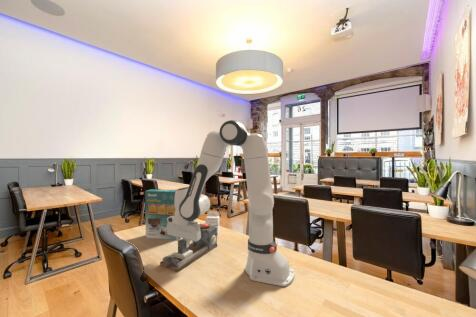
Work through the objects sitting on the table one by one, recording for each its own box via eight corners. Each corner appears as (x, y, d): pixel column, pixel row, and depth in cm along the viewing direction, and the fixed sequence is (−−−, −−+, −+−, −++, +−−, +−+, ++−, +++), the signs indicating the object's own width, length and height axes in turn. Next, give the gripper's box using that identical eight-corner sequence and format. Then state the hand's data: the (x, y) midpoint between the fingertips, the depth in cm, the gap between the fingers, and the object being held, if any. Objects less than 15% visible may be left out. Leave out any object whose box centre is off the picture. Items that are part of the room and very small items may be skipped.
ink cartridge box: (205, 234, 144) (205, 212, 144) (207, 232, 149) (207, 210, 149) (218, 235, 143) (218, 213, 143) (219, 232, 148) (219, 211, 148)
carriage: (192, 255, 112) (192, 239, 112) (184, 260, 107) (184, 243, 107) (182, 252, 116) (182, 236, 115) (174, 256, 110) (174, 240, 110)
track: (217, 246, 127) (217, 227, 126) (178, 272, 100) (178, 247, 99) (201, 242, 133) (201, 223, 132) (160, 265, 106) (159, 241, 105)
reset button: (209, 226, 127) (209, 224, 126) (205, 228, 123) (205, 226, 123) (204, 225, 128) (204, 223, 128) (199, 227, 125) (199, 225, 125)
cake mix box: (182, 235, 142) (181, 190, 141) (178, 239, 136) (177, 192, 135) (150, 233, 145) (150, 189, 144) (145, 237, 139) (145, 190, 138)
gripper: (203, 220, 108) (203, 248, 109) (173, 214, 118) (173, 239, 119) (195, 224, 103) (195, 253, 103) (164, 217, 113) (164, 243, 113)
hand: (183, 245), depth 111 cm, fingers closed on carriage, 3 cm apart
